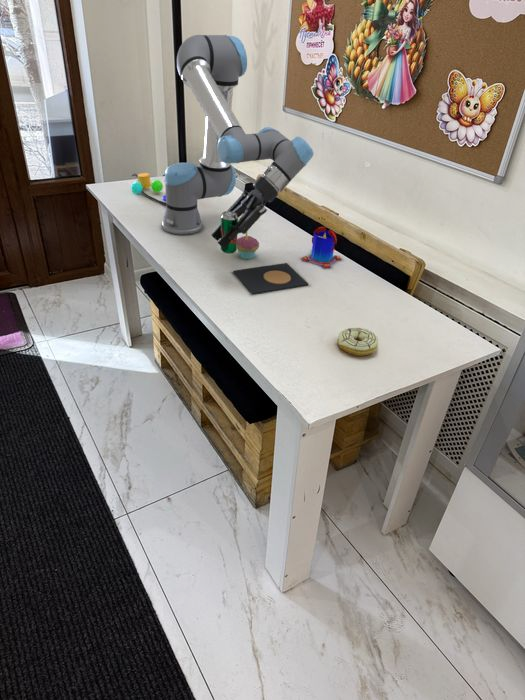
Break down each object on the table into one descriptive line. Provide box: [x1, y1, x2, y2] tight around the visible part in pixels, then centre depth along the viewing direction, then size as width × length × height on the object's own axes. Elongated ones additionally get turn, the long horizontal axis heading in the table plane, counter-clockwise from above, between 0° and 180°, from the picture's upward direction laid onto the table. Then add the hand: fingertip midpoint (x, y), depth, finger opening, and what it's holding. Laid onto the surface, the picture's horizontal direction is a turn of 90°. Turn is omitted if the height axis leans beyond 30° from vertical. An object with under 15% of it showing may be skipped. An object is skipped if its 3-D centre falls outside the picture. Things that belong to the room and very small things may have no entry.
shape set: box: [130, 172, 166, 203], centre depth 223 cm, size 29×35×7 cm
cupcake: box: [237, 231, 260, 260], centre depth 176 cm, size 9×8×12 cm
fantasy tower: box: [301, 226, 342, 269], centre depth 178 cm, size 12×12×12 cm
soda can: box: [220, 210, 239, 255], centre depth 154 cm, size 5×5×12 cm
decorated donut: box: [337, 327, 379, 357], centre depth 137 cm, size 10×11×4 cm
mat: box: [232, 262, 309, 296], centre depth 166 cm, size 16×20×1 cm
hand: (217, 241), depth 154 cm, fingers closed on soda can, 5 cm apart
